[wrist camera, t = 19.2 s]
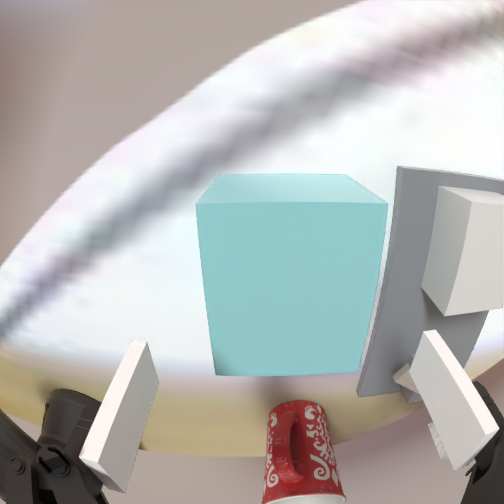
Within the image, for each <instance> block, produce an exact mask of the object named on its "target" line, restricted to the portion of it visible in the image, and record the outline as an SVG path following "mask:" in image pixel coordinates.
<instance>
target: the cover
mask: <svg viewBox="0 0 504 504" xmlns="http://www.w3.org/2000/svg"><path fill="white" fill-rule="evenodd" d="M387 211H388V203H387V202H385V201H384V200H383V199H381V198H380V197H378V196H377V195H375V194H374V193H372V192H371V191H370V190H368V189H367V188H365V187H364V186H362V185H361V184H359V183H358V182H356V181H355V180H353V179H352V178H350V177H349V176H347V175H340V174H232V175H219V176H218V177H217V179H216V180H215V181H214V182H213V183H212V185H211V186H210V187H209V188H208V189H207V191H206V192H205V193H204V194H203V195H202V197H201V198H200V199H199V200H198V202H197V203H196V214H197V226H198V236H199V247H200V257H201V266H202V275H203V284H204V293H205V301H206V309H207V317H208V325H209V333H210V340H211V347H212V354H213V361H214V368H215V374H216V375H222V376H296V375H318V374H333V373H346V372H357V371H358V368H359V364H360V360H361V356H362V352H363V348H364V344H365V340H366V336H367V331H368V327H369V322H370V318H371V313H372V308H373V303H374V298H375V293H376V287H377V282H378V276H379V270H380V264H381V258H382V251H383V244H384V236H385V228H386V220H387Z"/></svg>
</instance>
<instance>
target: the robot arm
mask: <svg viewBox="0 0 504 504" xmlns="http://www.w3.org/2000/svg"><path fill="white" fill-rule="evenodd" d="M409 373H410V375H411V377H412V379H413V381H414V383H415V385H416V387H417V389H418V391H419V393H420V395H421V397H422V399H423V401H424V403H425V405H426V407H427V409H428V411H429V414H430V416H431V418H432V420H433V422H434V424H435V427H436V429H437V431H438V433H439V436H440V438H441V440H442V442H443V445H444V447H445V449H446V452H447V454H448V457H449V459H450V461H451V464H452V466H453V469H454V470H457V469H459V468H462V467H464V466H467V465H468V464H469V463H470V462H471V461H472V460H473V459H474V458H475V460H476V463H475V464H474V465H473V466H472V467H471V468H470V470H469V471H467V473H466V476H467V475H469V473H471V472H472V473H471V476H470V480H469V482H468V485H467V488H466V491H465V493H464V496H463V499H462V501H461V504H504V418H503V416H502V414H501V412H500V411H499V409H498V407H497V406H496V404H495V403H494V401H493V399H492V398H491V397H490V395H489V393H488V392H487V390H486V388H485V387H484V386H482V385H481V384H480V383H479V382H478V381H475V382H471V380H470V379H469V377H468V376H467V374H466V373H465V371H464V370H463V368H462V367H461V365H460V364H459V362H458V361H457V359H456V358H455V356H454V355H453V353H452V352H451V350H450V349H449V348H448V346H447V345H446V343H445V342H444V340H443V339H442V338H441V336H440V335H439V333H438V332H437V331H436V330H430V331H423V334H422V337H421V340H420V343H419V346H418V349H417V352H416V354H415V357H414V360H413V362H412V365H411V368H410V370H409ZM158 384H159V380H158V377H157V374H156V371H155V367H154V364H153V361H152V357H151V354H150V351H149V347H148V343H147V342H146V341H132V342H131V344H130V346H129V348H128V350H127V352H126V354H125V356H124V358H123V360H122V362H121V364H120V366H119V368H118V370H117V372H116V374H115V376H114V378H113V380H112V383H111V385H110V387H109V389H108V391H107V393H106V395H105V398H104V400H103V402H98V401H96V400H94V399H92V398H90V397H88V396H86V395H83V394H81V393H78V392H75V391H72V390H68V389H57V390H54V391H53V392H52V393H51V395H50V396H49V398H48V400H47V402H46V405H45V413H44V417H43V424H42V431H41V435H40V437H39V439H38V441H37V442H35V441H34V440H33V439H32V438H31V437H30V436H29V435H28V434H26V433H25V432H24V431H23V430H22V429H21V428H20V427H19V426H17V425H16V424H15V423H14V422H13V421H12V420H11V419H10V418H9V417H8V416H7V415H6V414H5V413H4V412H3V411H2V410H1V409H0V498H1V499H2V500H4V501H5V502H6V504H109V503H108V501H107V499H106V497H105V495H104V493H103V492H102V491H101V489H102V486H103V484H104V485H105V486H106V487H107V488H108V489H110V490H114V491H118V492H122V493H126V490H127V487H128V483H129V479H130V476H131V472H132V469H133V465H134V462H135V458H136V455H137V451H138V448H139V445H140V441H141V438H142V435H143V431H144V428H145V425H146V422H147V419H148V415H149V412H150V409H151V406H152V403H153V400H154V396H155V393H156V390H157V387H158Z"/></svg>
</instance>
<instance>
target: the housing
mask: <svg viewBox="0 0 504 504" xmlns="http://www.w3.org/2000/svg"><path fill="white" fill-rule="evenodd" d="M503 306H504V180H501V179H496V178H490V177H484V176H478V175H471V174H464V173H457V172H450V171H442V170H433V169H424V168H414V167H404V166H397V176H396V189H395V200H394V209H393V218H392V226H391V234H390V241H389V248H388V255H387V261H386V267H385V273H384V279H383V284H382V289H381V295H380V300H379V304H378V309H377V314H376V318H375V323H374V327H373V331H372V335H371V339H370V343H369V347H368V351H367V355H366V359H365V362H364V366H363V370H362V373H361V377H360V380H359V383H358V387H357V390H356V391H357V394H358V397H366V396H373V395H381V394H387V393H394V392H400V391H402V393H403V395H404V398H405V400H406V403H407V404H411V403H416V402H420V401H423V399H422V397H421V395H420V394H418V393H416V392H414V391H412V390H410V389H408V388H406V387H404V386H402V385H400V384H398V383H396V382H395V381H394V379H393V375H394V374H395V373H396V372H398V371H399V370H400V369H401V368H402V367H403V366H404V365H406V364H407V363H408V364H410V365H412V362H413V360H414V357H415V354H416V352H417V349H418V346H419V343H420V340H421V337H422V334H423V331H430V330H436V331H437V332H438V333H439V335H440V336H441V338H442V339H443V340H444V342H445V343H446V345H447V346H448V348H449V349H450V350H451V352H452V353H453V355H454V356H455V358H456V359H457V361H458V362H459V364H460V365H461V367H462V368H463V369H464V367H465V365H466V363H467V361H468V359H469V357H470V355H471V352H472V350H473V348H474V346H475V344H476V341H477V339H478V337H479V334H480V332H481V330H482V327H483V325H484V322H485V320H486V317H487V314H488V312H489V310H492V309H498V308H503Z"/></svg>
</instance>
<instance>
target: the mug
mask: <svg viewBox="0 0 504 504" xmlns="http://www.w3.org/2000/svg"><path fill="white" fill-rule="evenodd" d="M345 502H346V497H345V495H344V494H343V490H342V486H341V481H340V477H339V473H338V468H337V464H336V460H335V456H334V452H333V447H332V443H331V438H330V434H329V430H328V426H327V422H326V417H325V413H324V410H323V408H322V407H321V406H320V405H318V404H316V403H314V402H311V401H302V400H300V401H291V402H287V403H284V404H281V405H279V406H277V407H276V408H274V409H273V410H272V411H271V412H270V414H269V417H268V433H267V448H266V464H265V475H264V489H263V501H262V504H344V503H345Z"/></svg>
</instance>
